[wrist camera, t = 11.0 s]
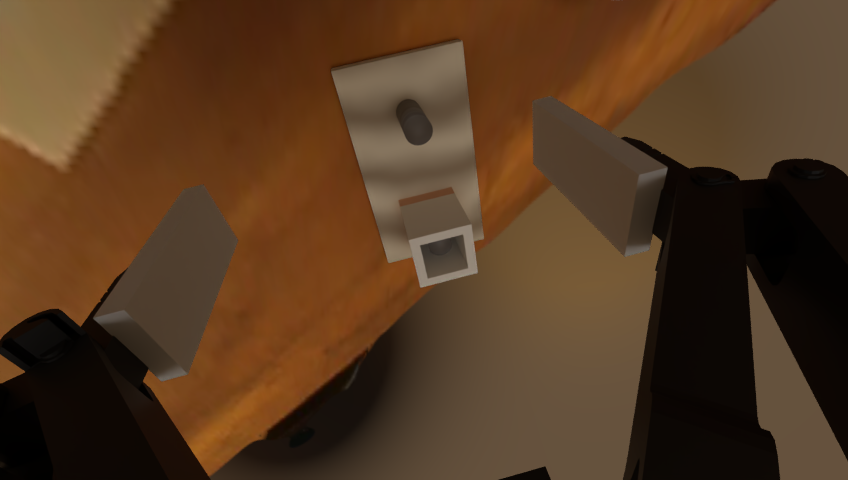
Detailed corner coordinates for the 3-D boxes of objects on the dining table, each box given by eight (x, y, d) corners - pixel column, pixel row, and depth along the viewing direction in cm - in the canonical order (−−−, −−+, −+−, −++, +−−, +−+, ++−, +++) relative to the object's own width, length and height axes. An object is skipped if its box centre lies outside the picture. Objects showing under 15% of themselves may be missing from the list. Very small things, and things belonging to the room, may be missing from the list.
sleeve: (398, 200, 41) (408, 240, 35) (451, 186, 42) (471, 224, 35) (409, 243, 45) (420, 287, 38) (458, 231, 45) (477, 272, 39)
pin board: (331, 68, 35) (328, 85, 28) (458, 39, 35) (482, 50, 29) (387, 255, 47) (394, 296, 41) (480, 232, 48) (500, 268, 41)
